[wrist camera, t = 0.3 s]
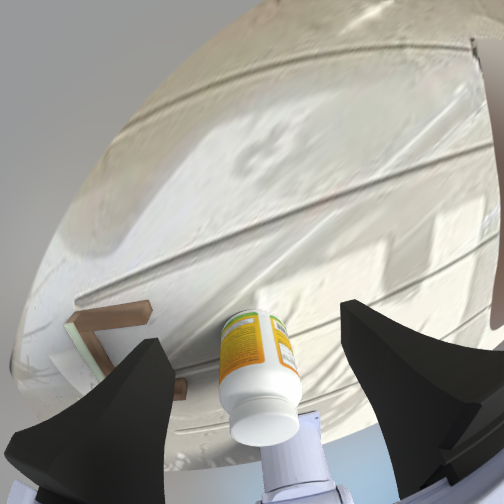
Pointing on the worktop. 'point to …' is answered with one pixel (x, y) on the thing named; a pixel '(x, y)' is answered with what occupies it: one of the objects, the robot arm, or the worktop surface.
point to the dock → (109, 318)
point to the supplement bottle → (259, 379)
